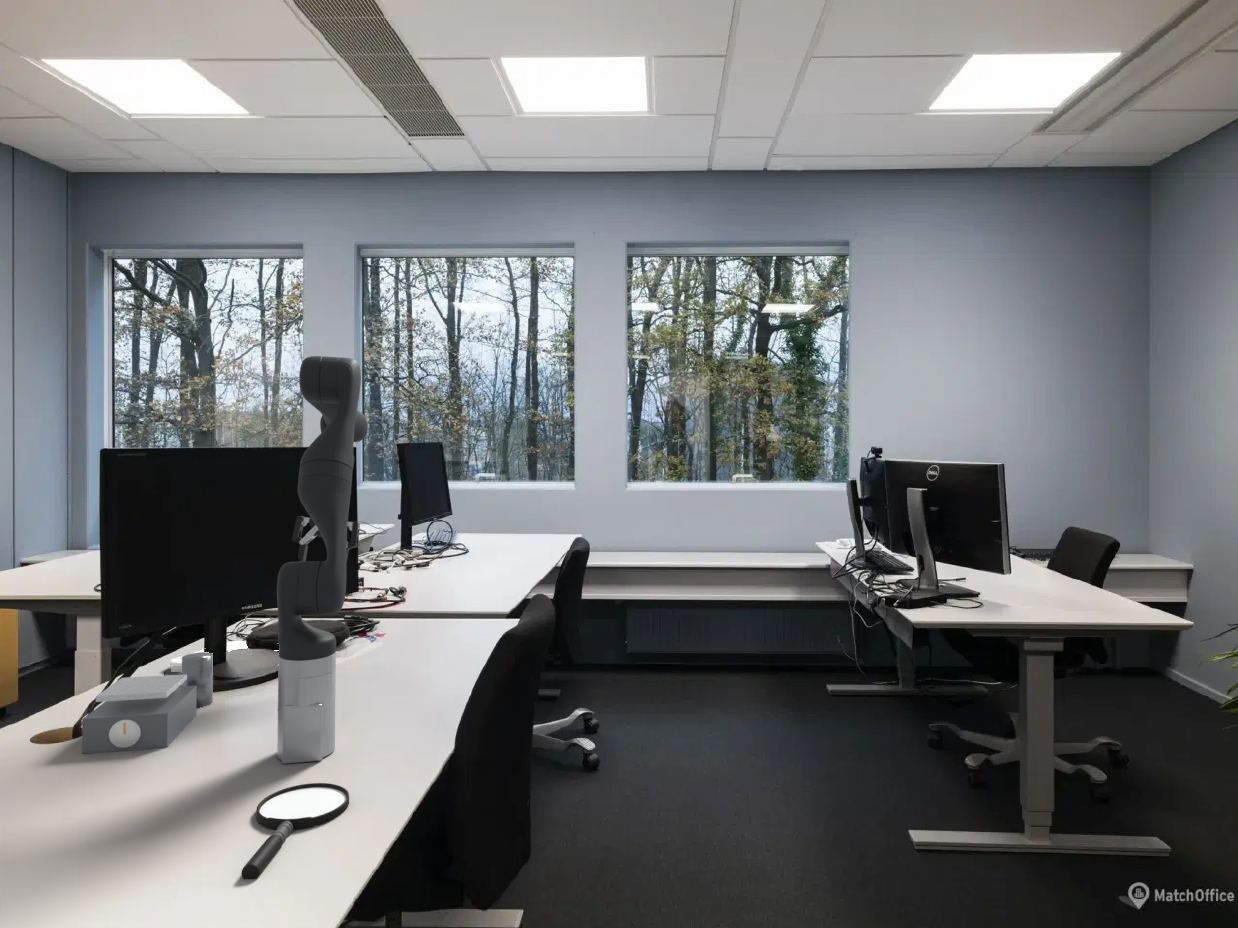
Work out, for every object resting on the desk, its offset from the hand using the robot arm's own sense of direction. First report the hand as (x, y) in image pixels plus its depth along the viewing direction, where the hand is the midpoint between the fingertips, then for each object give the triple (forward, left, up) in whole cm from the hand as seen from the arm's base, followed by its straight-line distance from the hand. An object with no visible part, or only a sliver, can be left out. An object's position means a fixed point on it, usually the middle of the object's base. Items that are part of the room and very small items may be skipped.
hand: (321, 563), depth 167 cm
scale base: (-28, +27, -27) cm, 47 cm away
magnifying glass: (-71, -6, -28) cm, 76 cm away
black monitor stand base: (+18, +22, -27) cm, 40 cm away
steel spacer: (-13, +22, -27) cm, 37 cm away
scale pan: (-28, +27, -19) cm, 43 cm away
